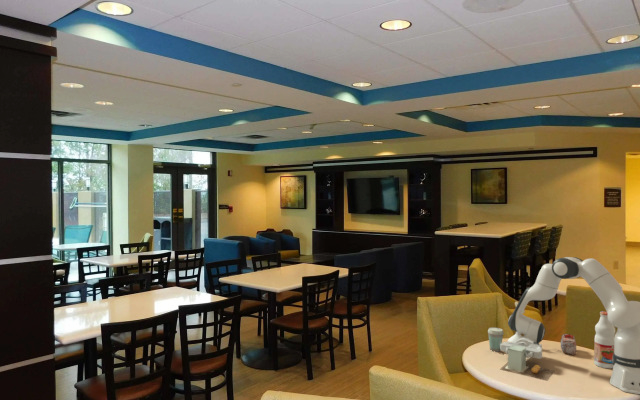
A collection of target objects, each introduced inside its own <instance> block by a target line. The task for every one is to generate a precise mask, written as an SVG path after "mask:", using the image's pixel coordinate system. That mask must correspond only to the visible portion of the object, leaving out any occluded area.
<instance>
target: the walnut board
mask: <svg viewBox="0 0 640 400" xmlns="http://www.w3.org/2000/svg"><path fill="white" fill-rule="evenodd" d="M533 367H534V365H530V364H527V363H526V367H525V368H524V369H523V370H522V371H517V370H513V369H508V361H507V362H506V363H505V364H503V365H502V366H501V367H500V368H499V370H501V371H505V372H508V373H513V374H517V375H521V376H525V377H529V378H534V379H537V380H538V379H539V380H542V381H548V382H549V379H550V378H551V377H552V376H553V374H554V373H555V370H553V369H549V368H545V367H544V368H543V367H540V370H539V371H538V373H533V372H532V370H531V369H532V368H533Z"/></svg>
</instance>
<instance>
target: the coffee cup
mask: <svg viewBox="0 0 640 400" xmlns="http://www.w3.org/2000/svg"><path fill="white" fill-rule="evenodd" d="M504 333H505V332H504V329H502V328H499V327H488V330H487V334H488V342H489V343H488V344H489V350H490V351H491V350H492V352H494V351H495V353H499V352H501V350H500V344H501V343H503V337H504Z"/></svg>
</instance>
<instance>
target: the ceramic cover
mask: <svg viewBox="0 0 640 400" xmlns="http://www.w3.org/2000/svg"><path fill="white" fill-rule="evenodd" d="M525 354H526V347H523V346H518V345H512V346H511V347H510V348H508V353H507V362H508V369H513V370H517V371H522V370H523V369H524V368H525V367H526V364H527V358H526V357H525Z"/></svg>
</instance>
